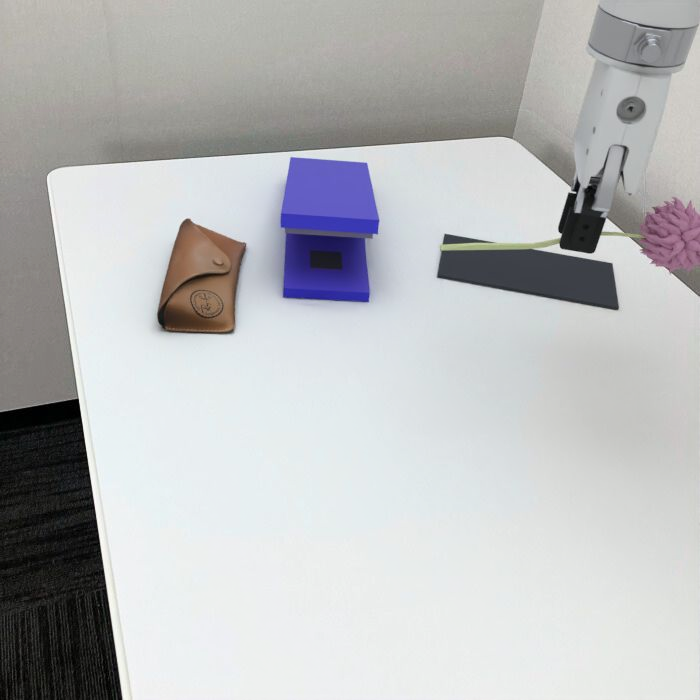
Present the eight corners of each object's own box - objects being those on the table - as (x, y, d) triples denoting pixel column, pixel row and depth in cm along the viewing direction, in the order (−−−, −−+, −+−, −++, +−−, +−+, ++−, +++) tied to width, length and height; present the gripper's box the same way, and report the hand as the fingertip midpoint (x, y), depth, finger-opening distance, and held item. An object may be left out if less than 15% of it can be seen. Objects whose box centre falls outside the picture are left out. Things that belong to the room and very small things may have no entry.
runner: (611, 265, 101) (612, 263, 100) (618, 310, 93) (619, 307, 93) (444, 236, 102) (444, 233, 102) (437, 277, 95) (437, 274, 94)
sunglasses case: (239, 331, 82) (205, 285, 78) (182, 354, 84) (146, 311, 80) (248, 240, 96) (219, 197, 92) (199, 262, 98) (169, 221, 94)
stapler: (277, 297, 88) (280, 222, 82) (283, 180, 110) (286, 114, 104) (377, 302, 89) (387, 228, 83) (364, 185, 111) (371, 120, 105)
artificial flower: (446, 304, 69) (725, 283, 69) (445, 232, 66) (740, 208, 66) (437, 273, 75) (695, 253, 75) (435, 205, 72) (706, 183, 71)
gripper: (709, 81, 53) (625, 298, 65) (673, 15, 65) (608, 207, 77) (599, 66, 54) (536, 283, 66) (584, 2, 66) (533, 195, 78)
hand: (575, 240), depth 71 cm, fingers closed on artificial flower
